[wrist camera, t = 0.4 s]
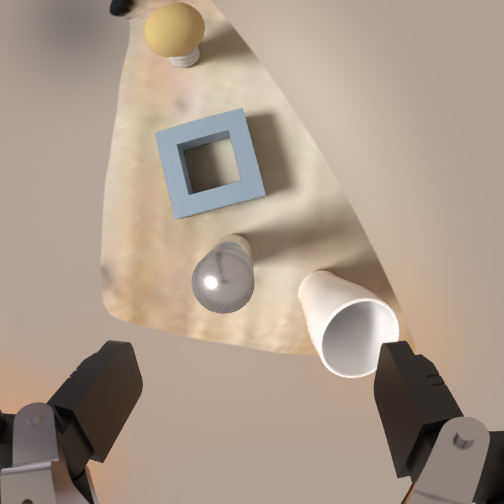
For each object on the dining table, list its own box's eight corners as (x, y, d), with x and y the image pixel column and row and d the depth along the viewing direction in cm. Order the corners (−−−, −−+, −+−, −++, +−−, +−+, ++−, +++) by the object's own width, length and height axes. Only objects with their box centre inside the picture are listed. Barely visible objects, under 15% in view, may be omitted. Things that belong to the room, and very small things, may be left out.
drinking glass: (350, 309, 37) (404, 363, 22) (297, 325, 37) (325, 390, 22) (340, 256, 36) (396, 285, 21) (285, 271, 36) (309, 311, 21)
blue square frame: (163, 139, 34) (155, 133, 31) (243, 117, 34) (242, 108, 31) (182, 218, 35) (175, 219, 32) (264, 196, 35) (265, 195, 32)
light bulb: (155, 49, 33) (131, 8, 23) (202, 30, 32) (190, -15, 22) (169, 86, 33) (145, 50, 23) (218, 67, 33) (209, 24, 23)
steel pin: (212, 239, 36) (184, 260, 20) (246, 230, 36) (245, 245, 20) (221, 273, 36) (201, 319, 20) (255, 264, 36) (260, 305, 20)
